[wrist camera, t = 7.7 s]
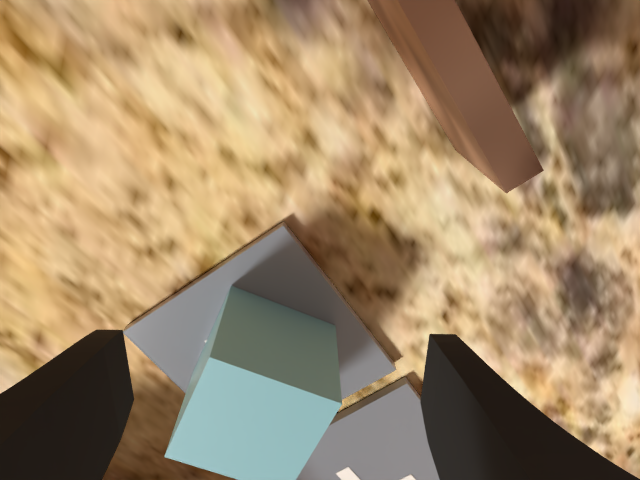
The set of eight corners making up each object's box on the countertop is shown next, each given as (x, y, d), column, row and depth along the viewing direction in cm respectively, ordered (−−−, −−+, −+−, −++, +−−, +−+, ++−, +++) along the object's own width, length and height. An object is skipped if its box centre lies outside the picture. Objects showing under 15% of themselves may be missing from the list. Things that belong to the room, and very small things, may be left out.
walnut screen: (491, 126, 19) (556, 162, 14) (164, 337, 23) (123, 425, 18) (172, -458, 13) (83, -771, 8) (-209, -38, 16) (-437, -67, 11)
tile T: (394, 363, 24) (396, 370, 23) (247, 444, 26) (246, 453, 25) (283, 221, 21) (283, 225, 20) (126, 325, 22) (122, 332, 22)
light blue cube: (338, 326, 22) (345, 405, 17) (293, 405, 24) (290, 495, 19) (231, 285, 21) (209, 357, 17) (193, 370, 23) (164, 456, 18)
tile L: (488, 483, 27) (491, 491, 26) (352, 547, 29) (352, 556, 28) (405, 376, 24) (407, 384, 23) (259, 456, 26) (258, 464, 25)
